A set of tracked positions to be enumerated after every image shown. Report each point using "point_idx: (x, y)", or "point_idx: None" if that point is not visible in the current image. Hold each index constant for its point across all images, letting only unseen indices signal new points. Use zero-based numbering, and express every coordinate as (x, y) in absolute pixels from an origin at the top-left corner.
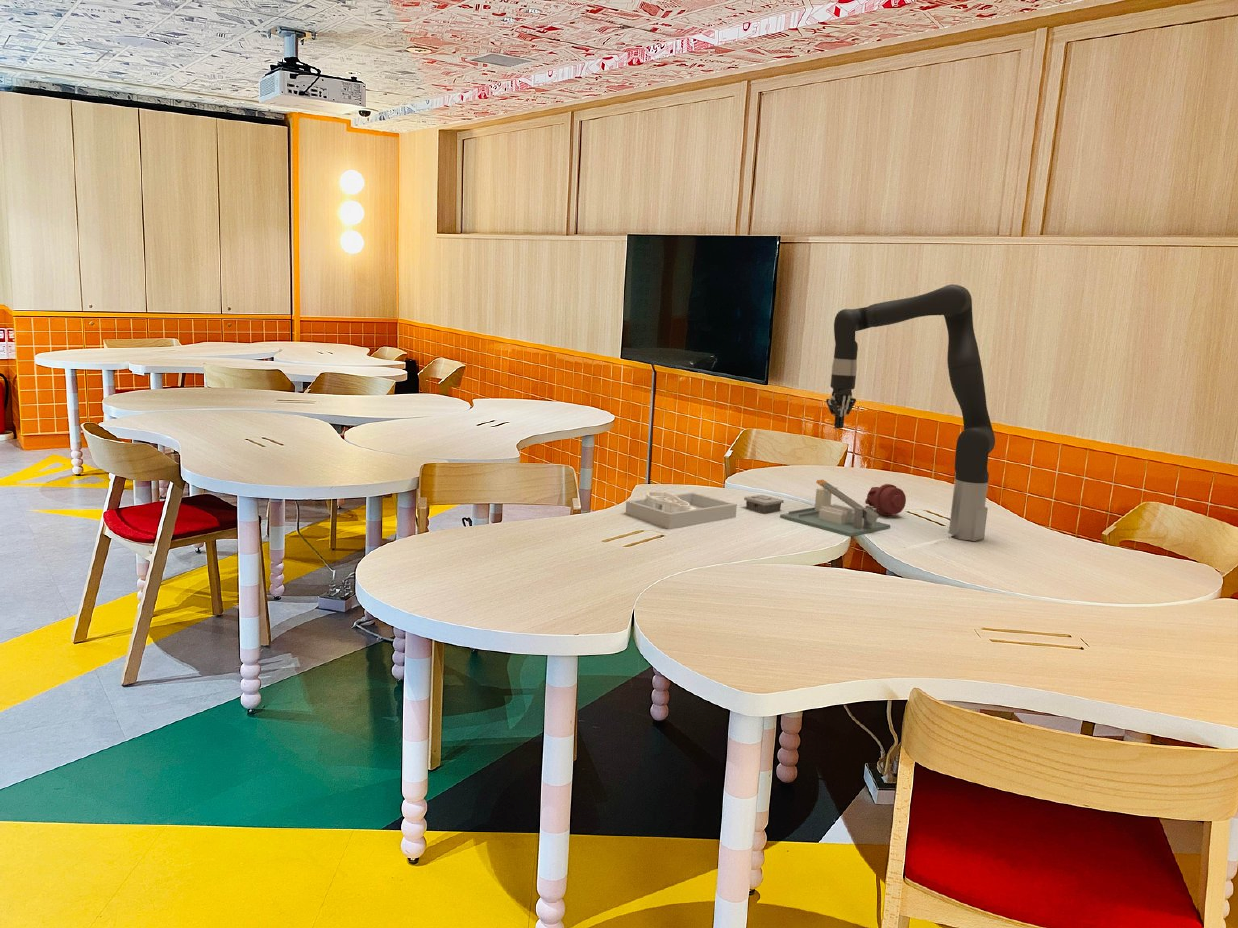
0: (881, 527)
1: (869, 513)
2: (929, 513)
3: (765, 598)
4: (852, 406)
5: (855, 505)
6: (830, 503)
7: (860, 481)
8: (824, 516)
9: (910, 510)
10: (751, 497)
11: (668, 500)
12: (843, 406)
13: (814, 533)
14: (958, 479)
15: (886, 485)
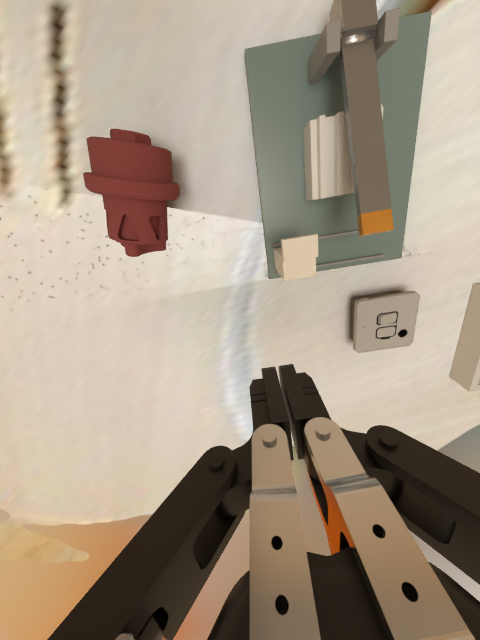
0: (287, 41)
1: None
2: (13, 160)
3: None
4: (138, 544)
5: (367, 69)
6: (276, 250)
7: (12, 434)
8: None
9: (49, 207)
10: (406, 335)
11: None
12: (366, 519)
13: (468, 97)
14: None
15: (129, 180)
